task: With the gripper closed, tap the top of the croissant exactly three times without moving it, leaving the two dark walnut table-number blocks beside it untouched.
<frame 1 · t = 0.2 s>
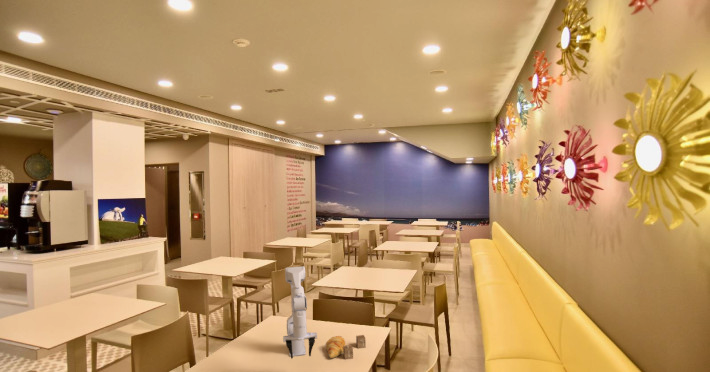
hand: (300, 356, 159), 10 cm above the table, tool pointing down, fingers open, 7 cm apart
number block one: (348, 357, 178), on the table
number block seven: (361, 346, 190), on the table
croissant: (335, 351, 186), on the table
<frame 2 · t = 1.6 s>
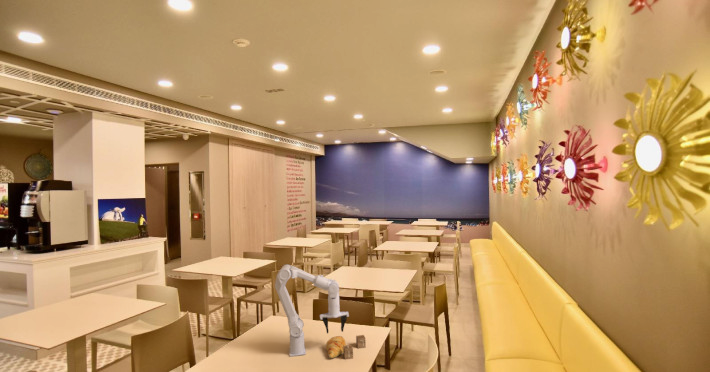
hand: (334, 331, 186), 9 cm above the table, tool pointing down, fingers open, 7 cm apart
nothing on the table moved.
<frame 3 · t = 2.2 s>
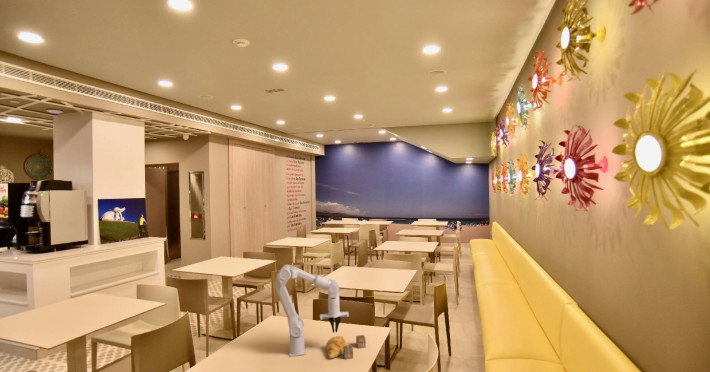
hand: (334, 331, 186), 9 cm above the table, tool pointing down, fingers closed
nothing on the table moved.
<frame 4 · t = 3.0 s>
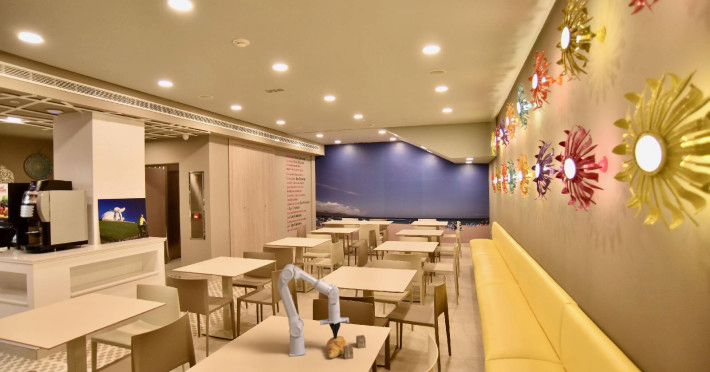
hand: (335, 337, 186), 6 cm above the table, tool pointing down, fingers closed, pressing on croissant
croissant: (336, 351, 186), on the table, touching gripper
everything else where it was.
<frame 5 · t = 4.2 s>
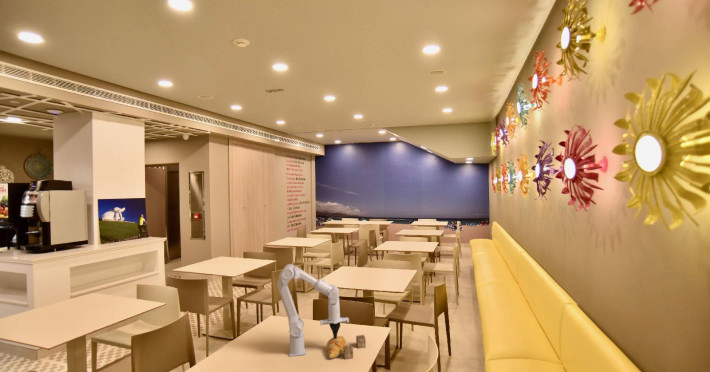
hand: (335, 337, 186), 6 cm above the table, tool pointing down, fingers closed, pressing on croissant
croissant: (336, 351, 186), on the table, touching gripper
everything else where it was.
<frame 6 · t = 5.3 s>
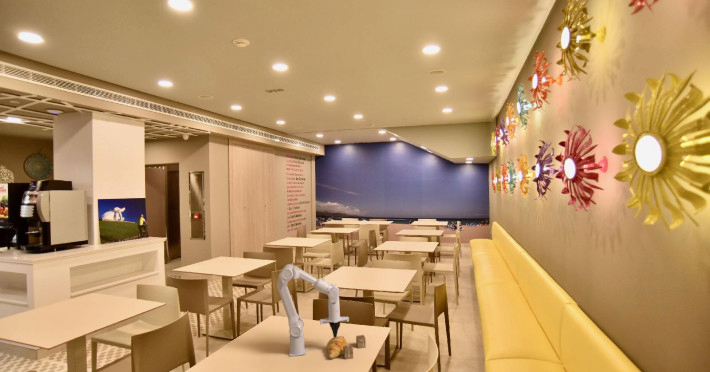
hand: (334, 336, 186), 7 cm above the table, tool pointing down, fingers closed
croissant: (336, 351, 186), on the table
everything else where it was.
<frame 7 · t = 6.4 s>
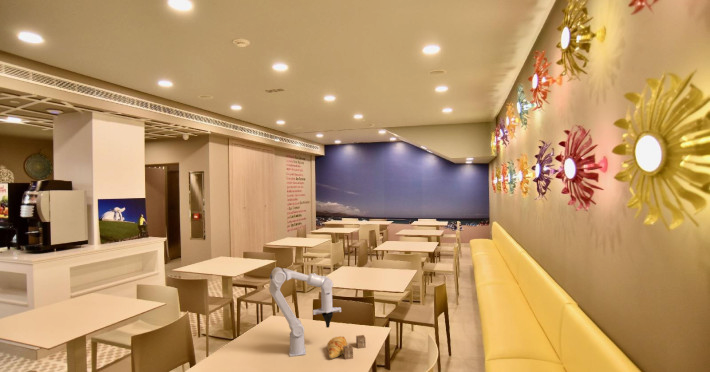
hand: (327, 326, 191), 10 cm above the table, tool pointing down, fingers closed
nothing on the table moved.
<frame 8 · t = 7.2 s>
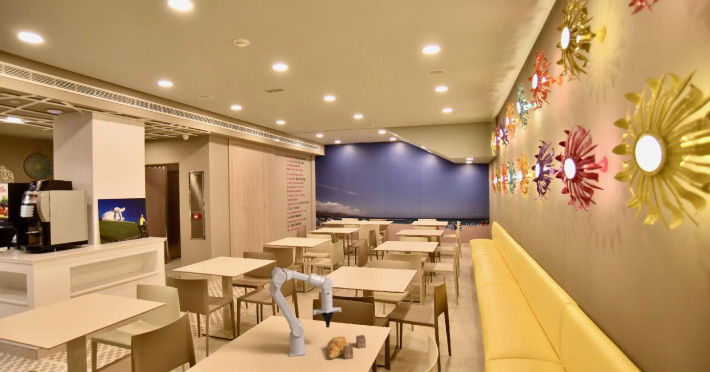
hand: (327, 326, 191), 10 cm above the table, tool pointing down, fingers closed
nothing on the table moved.
at the end: croissant moved 1.1 cm from its start; number block one moved 0.1 cm from its start; number block seven moved 0.1 cm from its start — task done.
